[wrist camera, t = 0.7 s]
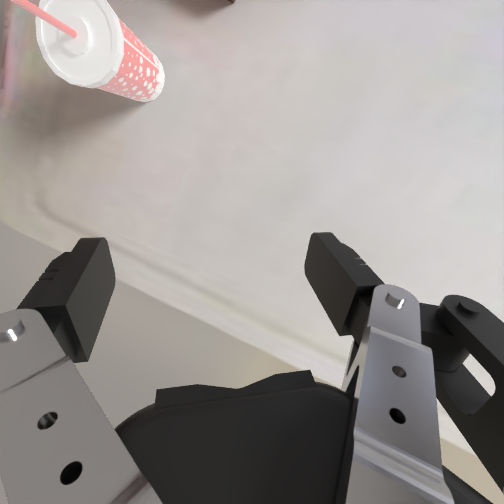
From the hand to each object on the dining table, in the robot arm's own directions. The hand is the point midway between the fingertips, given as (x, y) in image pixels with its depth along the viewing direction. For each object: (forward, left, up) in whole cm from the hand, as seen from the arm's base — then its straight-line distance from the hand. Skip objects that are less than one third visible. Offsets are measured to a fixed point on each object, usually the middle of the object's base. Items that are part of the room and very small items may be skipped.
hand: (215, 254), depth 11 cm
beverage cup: (-14, -10, -19) cm, 26 cm away
